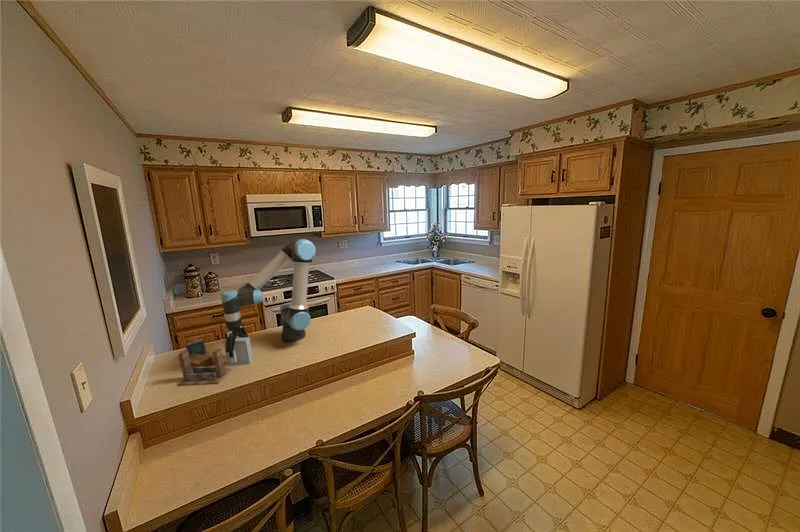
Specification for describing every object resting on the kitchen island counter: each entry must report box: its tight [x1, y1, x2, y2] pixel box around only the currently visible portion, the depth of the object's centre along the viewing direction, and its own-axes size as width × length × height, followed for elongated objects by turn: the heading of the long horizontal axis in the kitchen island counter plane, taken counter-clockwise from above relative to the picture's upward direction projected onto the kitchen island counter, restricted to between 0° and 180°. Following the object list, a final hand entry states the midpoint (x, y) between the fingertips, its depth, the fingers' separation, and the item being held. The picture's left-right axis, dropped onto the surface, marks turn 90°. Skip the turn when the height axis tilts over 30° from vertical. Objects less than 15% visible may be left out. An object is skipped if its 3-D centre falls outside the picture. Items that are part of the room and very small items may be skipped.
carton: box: [189, 353, 214, 368], centre depth 171 cm, size 8×16×4 cm, turn 66°
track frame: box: [177, 348, 232, 387], centre depth 155 cm, size 20×12×15 cm, turn 90°
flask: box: [185, 338, 207, 355], centre depth 179 cm, size 9×3×11 cm, turn 138°
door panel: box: [223, 336, 254, 366], centre depth 168 cm, size 12×4×14 cm, turn 90°
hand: (239, 356), depth 169 cm, fingers open, 11 cm apart
